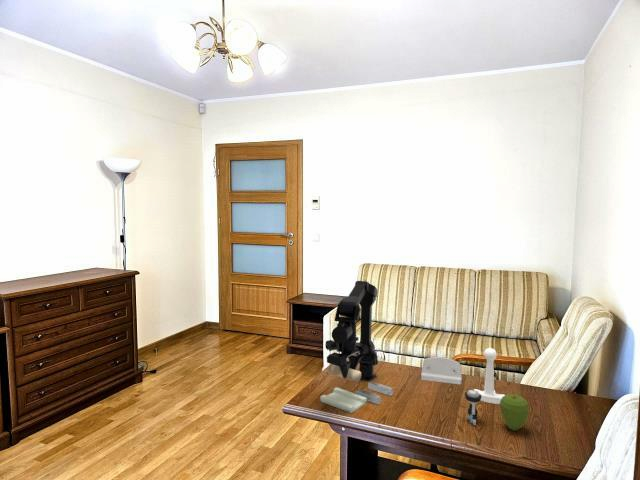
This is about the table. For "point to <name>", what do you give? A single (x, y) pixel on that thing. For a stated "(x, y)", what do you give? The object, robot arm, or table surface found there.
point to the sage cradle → (344, 400)
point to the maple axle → (351, 375)
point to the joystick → (490, 380)
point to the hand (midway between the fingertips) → (348, 376)
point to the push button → (473, 404)
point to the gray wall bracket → (441, 370)
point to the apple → (514, 411)
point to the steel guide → (378, 388)
